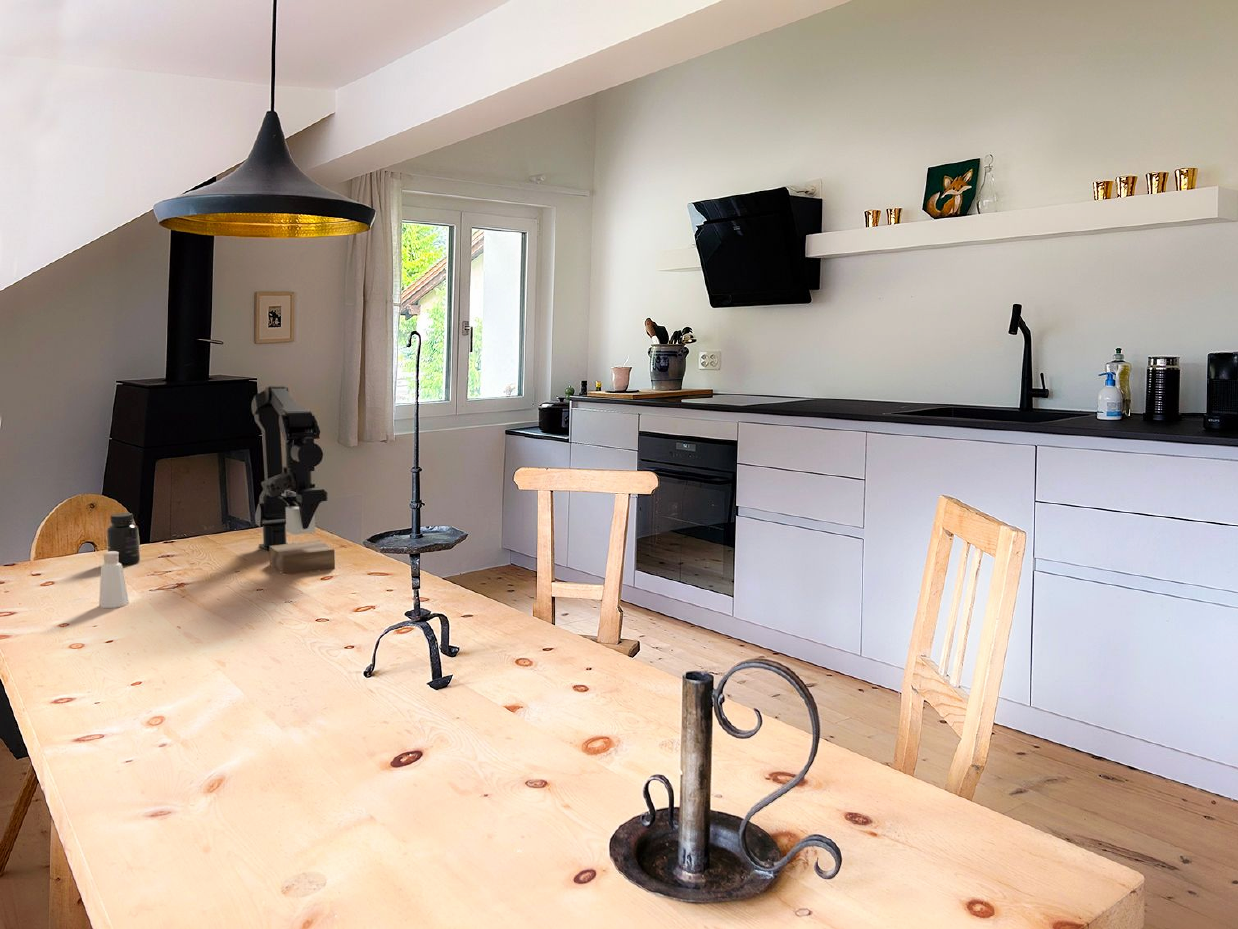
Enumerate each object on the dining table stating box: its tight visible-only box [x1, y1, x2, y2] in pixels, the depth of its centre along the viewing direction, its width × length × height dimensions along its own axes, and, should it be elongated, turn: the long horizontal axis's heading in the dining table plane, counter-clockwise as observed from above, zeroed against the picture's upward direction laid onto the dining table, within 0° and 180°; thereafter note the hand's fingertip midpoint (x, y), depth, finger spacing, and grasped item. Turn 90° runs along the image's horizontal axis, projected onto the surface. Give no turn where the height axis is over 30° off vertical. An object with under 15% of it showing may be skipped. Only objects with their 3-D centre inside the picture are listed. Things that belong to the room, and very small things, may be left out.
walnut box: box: [268, 540, 336, 575], centre depth 228 cm, size 12×12×5 cm
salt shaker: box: [98, 551, 130, 609], centre depth 194 cm, size 5×5×11 cm
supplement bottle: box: [106, 512, 141, 567], centre depth 229 cm, size 7×7×12 cm
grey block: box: [286, 506, 316, 536], centre depth 227 cm, size 5×5×6 cm
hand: (300, 526), depth 227 cm, fingers closed on grey block, 5 cm apart
